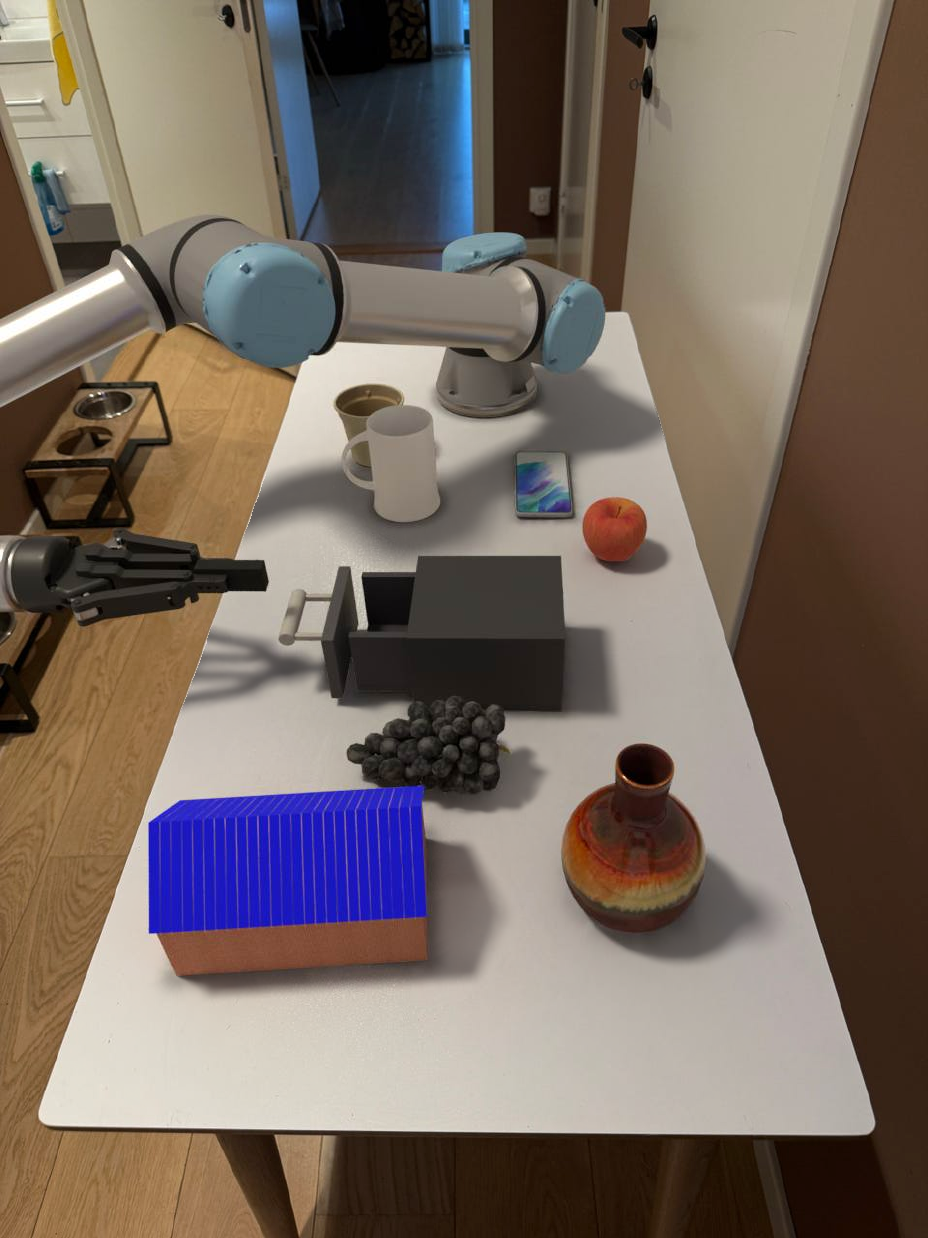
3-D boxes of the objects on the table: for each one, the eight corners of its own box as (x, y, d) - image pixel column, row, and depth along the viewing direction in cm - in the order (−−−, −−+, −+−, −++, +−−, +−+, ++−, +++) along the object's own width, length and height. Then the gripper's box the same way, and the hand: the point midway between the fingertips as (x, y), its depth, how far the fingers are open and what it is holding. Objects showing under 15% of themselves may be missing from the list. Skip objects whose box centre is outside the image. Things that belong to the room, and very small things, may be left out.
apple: (629, 533, 112) (635, 477, 107) (653, 568, 107) (660, 511, 102) (572, 543, 111) (575, 487, 106) (593, 579, 106) (597, 522, 101)
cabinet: (413, 710, 91) (406, 637, 85) (423, 625, 101) (417, 555, 95) (561, 711, 90) (565, 638, 84) (558, 626, 100) (561, 555, 94)
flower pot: (406, 473, 125) (400, 416, 119) (336, 474, 125) (328, 417, 119) (411, 438, 132) (406, 382, 126) (345, 439, 132) (338, 383, 126)
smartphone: (567, 450, 126) (573, 513, 114) (566, 456, 126) (572, 519, 115) (514, 450, 126) (514, 512, 115) (513, 456, 127) (514, 518, 115)
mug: (346, 525, 116) (333, 440, 108) (351, 487, 122) (340, 405, 115) (439, 521, 116) (434, 436, 108) (440, 484, 122) (435, 402, 114)
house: (198, 848, 80) (164, 759, 72) (429, 834, 80) (420, 744, 72) (171, 980, 71) (129, 894, 63) (432, 964, 71) (422, 876, 63)
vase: (602, 973, 70) (617, 852, 60) (536, 860, 78) (539, 736, 68) (725, 918, 73) (758, 794, 63) (649, 814, 81) (668, 689, 71)
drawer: (283, 698, 92) (270, 640, 87) (304, 622, 101) (292, 565, 95) (467, 699, 91) (464, 641, 86) (471, 623, 99) (469, 566, 94)
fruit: (331, 722, 78) (509, 723, 77) (350, 679, 86) (512, 679, 84) (340, 809, 81) (511, 811, 80) (357, 760, 89) (514, 761, 88)
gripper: (64, 564, 98) (284, 565, 96) (13, 647, 88) (257, 650, 87) (41, 505, 93) (272, 505, 92) (-17, 586, 83) (242, 587, 82)
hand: (264, 575), depth 89 cm, fingers closed
